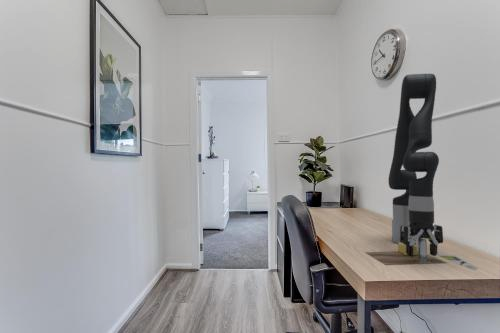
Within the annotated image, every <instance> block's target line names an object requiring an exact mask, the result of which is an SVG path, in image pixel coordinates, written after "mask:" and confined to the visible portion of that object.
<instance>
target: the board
mask: <svg viewBox="0 0 500 333" xmlns="http://www.w3.org/2000/svg"><path fill="white" fill-rule="evenodd" d="M364 253H365V254H366V255H368V256H369V257H371V258H373V259H375V260H376V261H378V262H379V263H381V264H383V265H385V266H398V265H399V266H402V265H405V266H406V265H429V264H436V265H437V264H447V262H446V261H444V260H441V259H439V258H437V257H435V256H433V255H431V254H427V262H420V261H417V255H413V257H410V256H408V255H405V254H403V253H401V252H399V251H398V250H397V251H396V250H395V251H394V250H393V251H392V250H391V251H364Z"/></svg>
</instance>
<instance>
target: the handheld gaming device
mask: <svg viewBox="0 0 500 333" xmlns="http://www.w3.org/2000/svg"><path fill="white" fill-rule="evenodd" d="M436 256H437V257H440V258H442V259H445V260H448V261H450V262H453V263H455V264H458V265H460V266H463V267H465V268H467V269H470V270H478V267H477V266H475V265H473V264H471V263H469V262H468V261H466V260H464V259H463V258H460V257H459V256H457V255H455V254H454V255H453V254H439V253H437V254H436Z"/></svg>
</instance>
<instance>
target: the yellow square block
mask: <svg viewBox="0 0 500 333" xmlns="http://www.w3.org/2000/svg"><path fill="white" fill-rule="evenodd" d="M412 246H413V255H417V244H415V245H414V244H413V245H412ZM397 251H399V252H401V253H403V254H405V255H407V253H406V244H404V243H397Z"/></svg>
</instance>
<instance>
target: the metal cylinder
mask: <svg viewBox="0 0 500 333" xmlns="http://www.w3.org/2000/svg"><path fill="white" fill-rule="evenodd" d="M427 240H428V239H425V238H422V239H419V238H418V240H417V241H416V246H417V259H416V261H418V262H420V263H428V261H427V255H428V254H427V253H428V251H427V248H428V245H427V243H428V242H427Z"/></svg>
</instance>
